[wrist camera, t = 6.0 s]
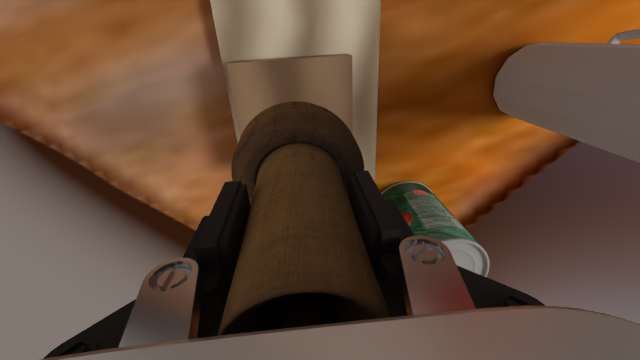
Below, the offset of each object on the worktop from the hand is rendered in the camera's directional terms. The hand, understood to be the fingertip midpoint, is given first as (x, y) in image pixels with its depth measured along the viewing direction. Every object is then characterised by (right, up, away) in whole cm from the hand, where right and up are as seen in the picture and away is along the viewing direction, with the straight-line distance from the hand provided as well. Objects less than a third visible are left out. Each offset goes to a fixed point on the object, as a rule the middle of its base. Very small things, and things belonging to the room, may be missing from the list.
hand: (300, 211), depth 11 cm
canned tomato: (+11, -2, +24) cm, 27 cm away
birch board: (-1, +9, +17) cm, 19 cm away
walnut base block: (-2, +8, +16) cm, 18 cm away
